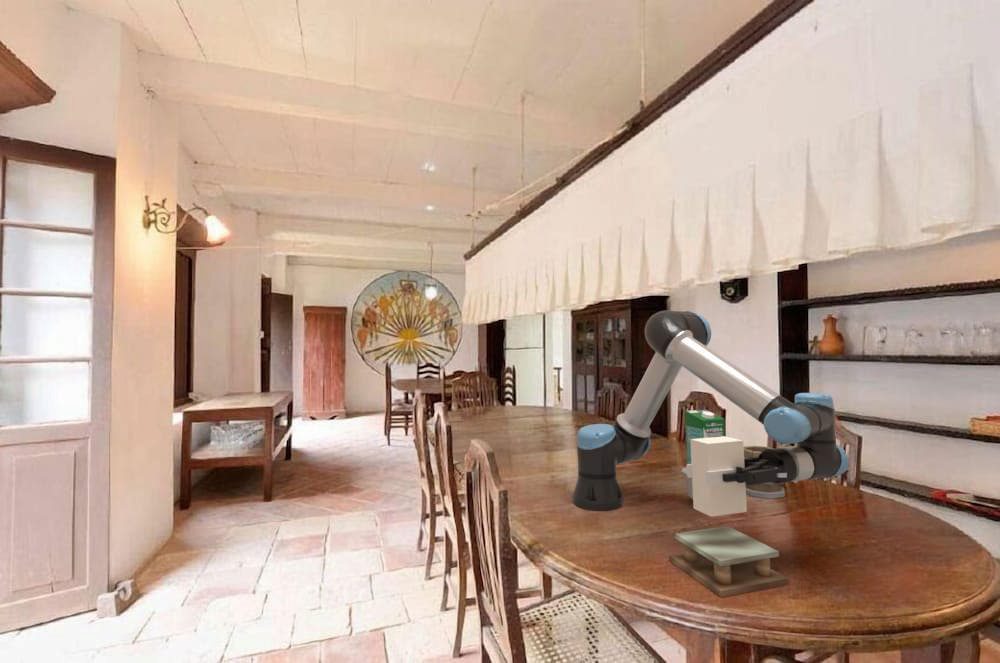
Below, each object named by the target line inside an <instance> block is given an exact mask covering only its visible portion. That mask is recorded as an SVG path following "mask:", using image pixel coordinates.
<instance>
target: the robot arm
mask: <svg viewBox="0 0 1000 663" xmlns="http://www.w3.org/2000/svg"><path fill="white" fill-rule="evenodd" d="M644 336H645V340H646V342H647V344H648V345H649V347H650V348H651V349H652V350H653V351H654V352H655V353H654V354H653V357H652V359H651V361H650V363H649V364H648V367H647V368H646V371H645V372H644V375H643V376H642V379H641V380H640V382H639V384H638V386H637V388H636V390H635V392H634V393H633V396H632V397H631V400H630V401H629V403H628V405H627V407H626V410H625V411H624V412H623V413H620V414H618V415H617V416H616V418H615V421H614V422H613V424H612V425H611V424H609V423H608V424H607V423H596V424H587V425H585V426H582V427H581V428H580V429H579V430H578V431H577V433H576V434H577V436H576V438H577V439H576V446H577V448H576V450H577V471H578V472H577V475H578V476H577V477H578V478H577V480H576V482H575V483H576V484H575V487H574V490H573V495H572V497H573V499H572V500H573V501H572V502H573V504H574V505H576V506H577V507H579V508H582V509H586V510H591V511H612V510H617V509H619V508H621V507H623V505H624V497H623V496H624V495H623V493H622V489H621V487H620V484H619V481H618V479H617V465H619V464H623V463H628V462H633V461H637V460H639V459H640V458H643V457H644V456H646V454H647V453H648V452H649V451H650V447H651V443H652V440H651V434H652V431H651V428H650V426H651V424H652V422H653V421H654V418H655V417H656V415H657V413H658V411H659V410H660V408H661V406H662V404H663V402H664V400H665V399H666V397H667V395H668V393H669V391H670V389H671V388H672V386H673V384H674V382H675V380H676V378H677V376H678V374H679V373H680V371H681V370H682V368H684V369H685V370H687V371H688V372H690V373H691V374H692V375H694V376H695V377H696V378H697V379H700V380H701V381H702V382H703V383H705V384H707V385H708V386H709V387H711V388H712V389H714V390H715V391H716V392H718V394H721V396H723V397H724V398H726V399H727V400H728V401H730V402H731V403H732V404H734V405H736V407H739V408H740V409H741V410H743V411H744V412H745V413H747V414H748V415H749V416H751V417H752V418H753V419H755V420H756V421H757V422H759V423H760V424H762V425H763V428H764V430H765V432H766V434H767V436H768V437H769V438H770V439H771V440H773V441H775V442H777V443H779V444H781V445H782V444H789V445H791V446H792V447H781V448H778V447H776V448H774V449H766V450H764V451H762V452H761V453H760V455H759V456H758V457H750V458H744V465H745V468H742V467H737V466H736V472H735V469H723V470H714V471H706V479H707V485H709V486H710V485H718V484H726V483H734V482H735V481H737V482H738V483H744V482H746V484H747V485H755V484H762V483H769V482H771V483H775V484H779V483H782V484H784V483H785V484H786V483H791V482H793V483H794V484H797V483H798V482H800V481H807V480H816V479H829V478H833V477H836V476H840V475H843V474H844V473H846V472H847V471H848V469H849V465H850V460H849V456H848V455H847V454H846V450H844V448H842V446H840V445H838V444H837V442H836V424H835V423H836V422H835V411H836V409H835V405H834V399H833V397H832V395H830V394H827V393H820V392H819V393H818V392H799V393H796V394H795V395H794V403H793V402H791V401H790V400H788V399H787V398H785V397H783V396H782V395H780V394H779V393H778V392H776V391H775V390H774V389H772V388H771V387H769V386H768V385H765V384H764V382H761V381H760V380H758V379H757V378H755V377H754V376H752V375H751V374H749V373H747V372H746V371H745V370H743V369H742V368H740V367H739V366H737V365H735V364H734V363H732V362H731V361H729V360H728V359H726V358H724V357H723V356H721V355H720V354H719V353H717V352H715V351H714V350H712V349H711V348H709V347H708V345H709V343H710V342H711V340H712V329H711V325H710V323H709V321H708V320H707V319H706V318H705V316H703V315H702V314H700V313H698V312H694V311H689V310H685V311H677V310H661V311H657V312H656V313H654V314H652V315H651V316H650V317H649V319H648V320H647V321H646V323H645V327H644ZM792 444H796V445H794V446H793V445H792ZM686 467H687V477H689V478H691V477H692V465H691V464H686Z"/></svg>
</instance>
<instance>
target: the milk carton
mask: <svg viewBox="0 0 1000 663" xmlns="http://www.w3.org/2000/svg"><path fill="white" fill-rule="evenodd" d="M684 416H685V441H686V442H685V443H686V444H685V445H686V463H687V464H691V443H690V439H699V438H710V437H721V436H725V437H726V425H725V424H726V423H725V422H726V421H725V418H724V417H721V416H719V415H717V414H716V413H714V412H711V411H710V410H708V409H695V410H694V409H693V410H692V409H691V410H685V411H684ZM687 464H686V465H687Z"/></svg>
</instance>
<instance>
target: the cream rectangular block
mask: <svg viewBox="0 0 1000 663" xmlns="http://www.w3.org/2000/svg"><path fill="white" fill-rule="evenodd" d="M690 443H691V465H692V487H693V499H692V502H693V503H692V504H693V509H695V510H696V511H698V512H700V513H703V514H704V515H706V516H709V517H711V518H713V517H718V516H719V517H720V516H726V515H734V514H741V513H747V512H748V507H747V505H748V504H747V494H746V484H745V482H744V483H738V482H737V481H735V482H734V483H726V484H718V485H710V486H709V485H707V479H706V471H714V470H723V469H735V472H736V466H737V467H742V468H745V465H744V447H745V446H744V440H742V439H738V438H734V437H729V436H726V435H725V436H721V437H710V438H699V439H690Z"/></svg>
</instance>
